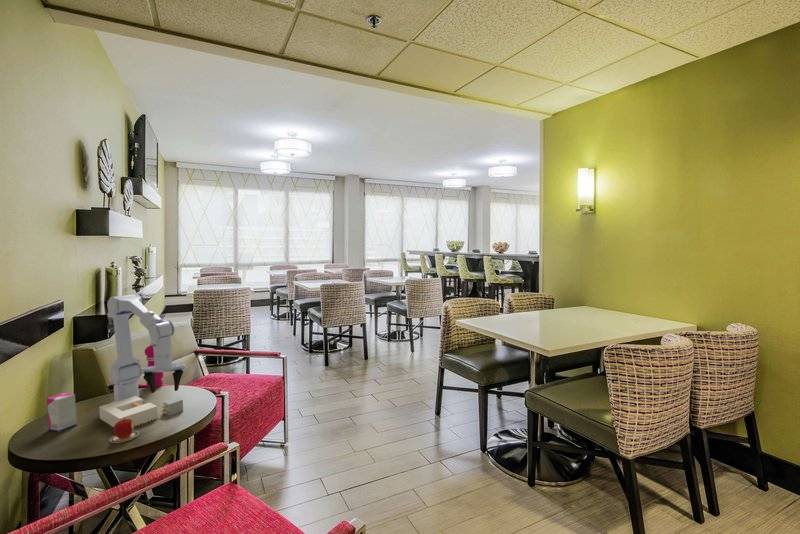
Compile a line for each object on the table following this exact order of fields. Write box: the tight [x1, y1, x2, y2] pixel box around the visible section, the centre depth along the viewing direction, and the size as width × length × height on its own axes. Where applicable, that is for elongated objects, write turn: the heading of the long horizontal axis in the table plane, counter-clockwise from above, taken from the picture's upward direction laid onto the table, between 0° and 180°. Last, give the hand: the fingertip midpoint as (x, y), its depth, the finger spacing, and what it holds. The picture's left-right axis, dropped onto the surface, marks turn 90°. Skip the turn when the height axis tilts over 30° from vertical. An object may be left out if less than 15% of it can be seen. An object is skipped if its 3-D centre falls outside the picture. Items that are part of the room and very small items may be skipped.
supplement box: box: [46, 392, 78, 433], centre depth 140 cm, size 6×6×12 cm
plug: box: [160, 396, 184, 416], centre depth 151 cm, size 4×6×4 cm
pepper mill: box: [144, 341, 164, 389], centre depth 179 cm, size 7×7×20 cm
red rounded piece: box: [109, 418, 140, 444], centre depth 132 cm, size 8×8×6 cm
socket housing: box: [98, 396, 159, 428], centre depth 147 cm, size 18×12×5 cm, turn 55°
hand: (165, 391), depth 147 cm, fingers open, 7 cm apart
